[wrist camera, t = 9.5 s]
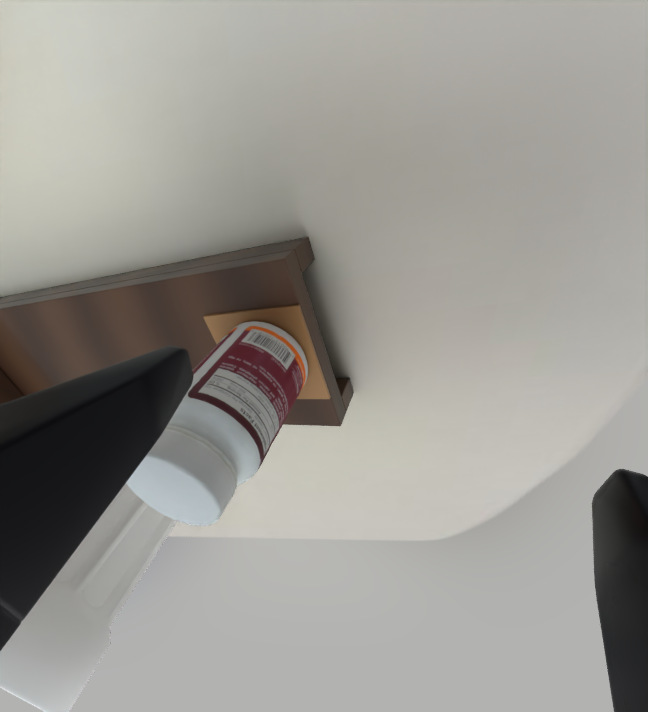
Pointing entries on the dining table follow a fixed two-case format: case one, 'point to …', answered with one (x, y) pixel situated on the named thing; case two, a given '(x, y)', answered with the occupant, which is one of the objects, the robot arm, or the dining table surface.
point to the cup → (82, 606)
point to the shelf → (169, 322)
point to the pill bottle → (223, 424)
